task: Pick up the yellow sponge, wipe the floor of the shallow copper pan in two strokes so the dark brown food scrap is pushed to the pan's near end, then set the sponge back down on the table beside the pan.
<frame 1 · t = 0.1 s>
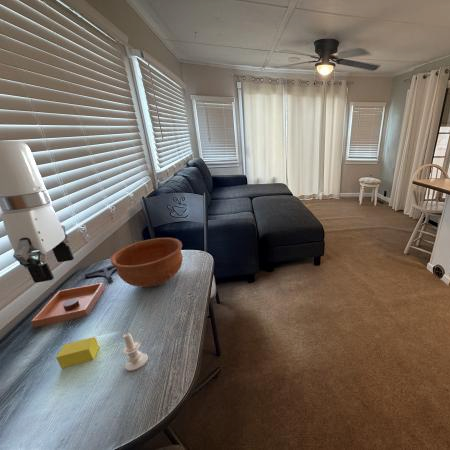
hand: (56, 270, 57), 28 cm above the table, tool pointing down, fingers open, 9 cm apart
pan: (74, 306, 87), on the table
food scrap: (72, 307, 86), resting on pan
sponge: (81, 357, 67), on the table
bowl: (157, 281, 101), on the table
bracket: (108, 277, 106), on the table
chess piece: (137, 363, 65), on the table
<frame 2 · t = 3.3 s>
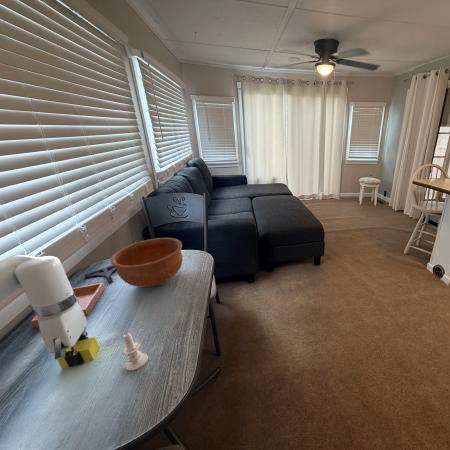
hand: (81, 356, 67), 0 cm above the table, tool pointing down, fingers closed on sponge, 4 cm apart
sponge: (81, 357, 67), on the table, touching gripper
everything else where it was.
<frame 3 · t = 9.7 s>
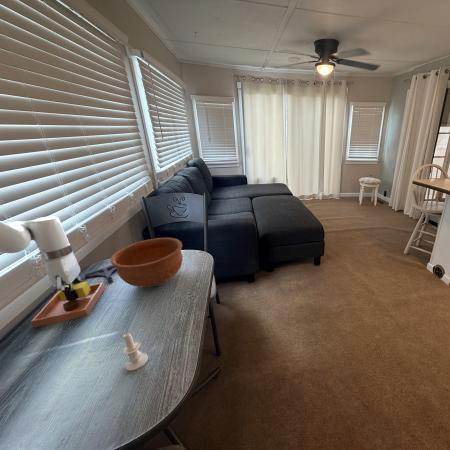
hand: (76, 294, 89), 3 cm above the table, tool pointing down, fingers closed on sponge, 4 cm apart
food scrap: (72, 307, 86), point 1 cm above the table, touching gripper
sponge: (77, 295, 89), point 2 cm above the table, touching gripper
everything else where it was.
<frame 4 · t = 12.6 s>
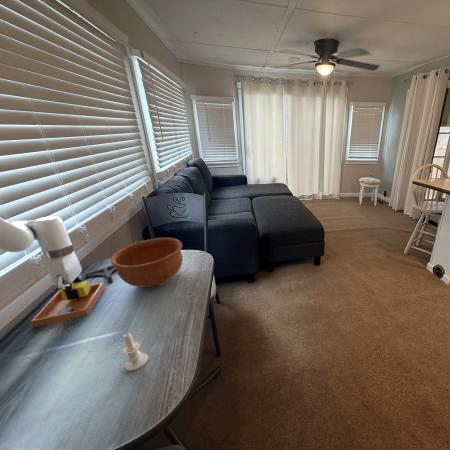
hand: (77, 294, 90), 2 cm above the table, tool pointing down, fingers closed on sponge, 4 cm apart
food scrap: (67, 315, 82), resting on pan
sponge: (77, 294, 90), point 2 cm above the table, touching gripper
everything else where it was.
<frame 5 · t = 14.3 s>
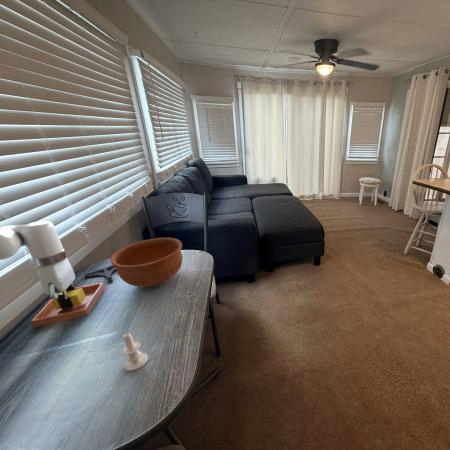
hand: (70, 302, 86), 2 cm above the table, tool pointing down, fingers closed on sponge, 4 cm apart
food scrap: (67, 315, 82), point 1 cm above the table, touching gripper, pan
sponge: (71, 303, 86), point 2 cm above the table, touching gripper
everything else where it was.
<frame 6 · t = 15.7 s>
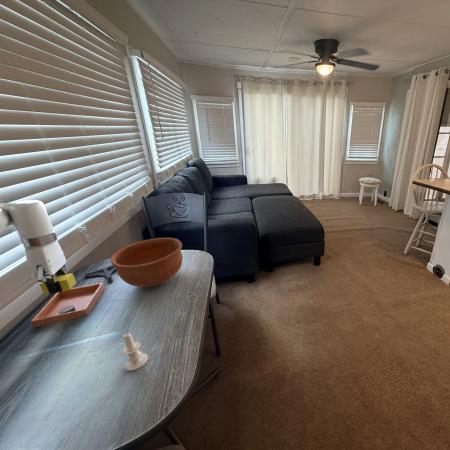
hand: (60, 287, 82), 10 cm above the table, tool pointing down, fingers closed on sponge, 4 cm apart
food scrap: (68, 313, 83), point 1 cm above the table, touching pan
sponge: (60, 288, 82), point 9 cm above the table, touching gripper
everything else where it was.
when the fingers open (0 cm above the table, at t = 21.7 s): sponge stays where it is, on the table.
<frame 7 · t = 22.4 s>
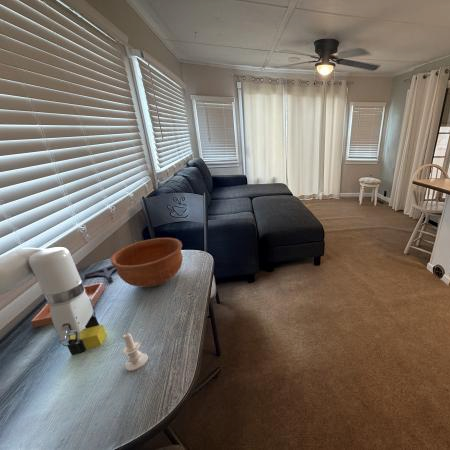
hand: (86, 340, 71), 1 cm above the table, tool pointing down, fingers open, 9 cm apart
sponge: (90, 343, 71), on the table
everything else where it was.
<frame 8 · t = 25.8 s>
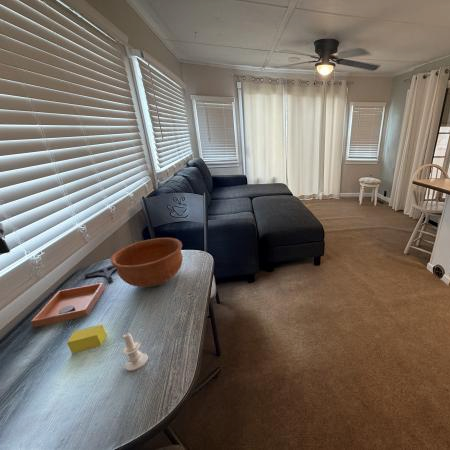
nothing on the table moved.
at the end: food scrap inside the target area in the pan (0.8 cm from its centre), point 0.5 cm above the pan's base; the gripper is holding nothing; sponge touching table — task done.
